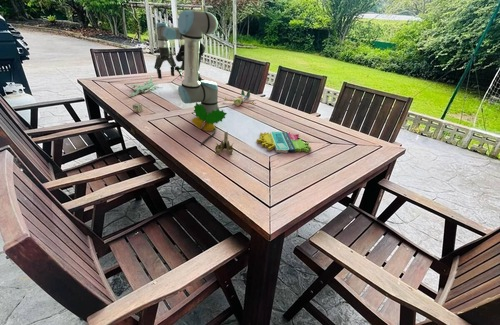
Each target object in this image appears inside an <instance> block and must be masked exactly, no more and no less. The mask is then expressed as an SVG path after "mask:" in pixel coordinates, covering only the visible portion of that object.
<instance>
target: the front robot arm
mask: <svg viewBox="0 0 500 325" xmlns="http://www.w3.org/2000/svg"><path fill="white" fill-rule="evenodd" d="M218 26H219V22H218V20H217V17H216V16H215V15H214V13H211V12H210V11H204V10H203V11H202V10H200V11H199V10H192V9H189V10H188V9H187V10H185V9H184V10H181V12H180V13H179V15H178V19H177V27H176V26H175V27H173V26H168V23H166V22H157V23H156V28H155V29H156V36H157V46H158V53H159V54H156V59H155V61H154V62H155V63H154V66H153V68H154V69H155V70H156V74H157V79H159V80H162V79H163V77H162V69H161V67H162V65H163V63H165V61H167V63H168V65H170V77H171V76H172V77H175V67H176V66H177V63H176V61H175V59H174V57H173V53H170V51H171V50H170V41H173V40H184V44H185V57H184V70H183V71H184V72H183V75H184V76H183V79H182V80H181V84H180V85H178V87H177V92H178V96H179V98H180V100H181V102H182V103H184V104H196V102H197V103H200V104H201V106H204V109H206V112H208V113H211V112H212V110H214V111H216V110H217V109H219V111H221V110H220V108H219V102H218V99H219V98H218V97H219V87H218V84H217V83H216V82H214V81H211V80H201V81H200V82H199V81H198V68H199V69H200V67H199V45H200V43H201V41H202V40H203V35H211V34H214V33H215V32H217V30H218ZM208 113H207V115H208ZM216 130H217V129H216V127H215V128H214V130H213V131H212V134H210V135H209V136H208V137H207V138H205V139H204V140H203V141H202V142H201V143H200V145H201V146H202V145H204V144H205V143H206V142H207V141H208V140H209V139H210V138H212V137H214V135H215V134H216Z"/></svg>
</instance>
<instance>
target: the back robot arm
mask: <svg viewBox="0 0 500 325" xmlns="http://www.w3.org/2000/svg"><path fill="white" fill-rule="evenodd" d="M205 50H206V46H205V45H204V44H203V43H201V42H200V45H199V68H198V81H199V82H200V81H202V76H201V73H200V66H201V61H202V56H203V55H204V53H205ZM184 57H185V43H184V44H180V47H179V49H178V52H177V54H176V55H175V60H176V62H178V63H181V65H176V66H175V67H174V71H176V72H177V73H178V75H179V77H180V79H183V73H182V72H183V71H184Z"/></svg>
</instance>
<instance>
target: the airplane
mask: <svg viewBox="0 0 500 325" xmlns="http://www.w3.org/2000/svg"><path fill="white" fill-rule="evenodd" d="M153 78H154V75H153V74H151V76H150V78H149V80H148V81H147V82H146V81H144V82H143V85H142V84H134V83H129V84H128V85H130V86H132V87H131V89H133V91H132V92H131V93H130V94H129V95H128V96H127V98H129V97H130V98H131V97H135V96H137V95H139V94H141V93H148V92H150V91H151V90H152V92H154V91H156V90H157V89H163V88H164V87H162V86H157V85H158V83H154V82H153ZM155 85H156V86H155Z"/></svg>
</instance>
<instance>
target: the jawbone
mask: <svg viewBox="0 0 500 325" xmlns="http://www.w3.org/2000/svg"><path fill="white" fill-rule="evenodd" d="M223 135H224V136H223V140H222V139H221V142H220V144H218V142H215V144H216V146H215V148H214V149H215V152H214V154H215V155H217V156H218V155H220V153H221V152H223V151H224V150H226V152H227V153H228V155H229V156H233V155H234V154H233V153H234V148H233V144H234V143H230V140H228V139H229V138H228V137H229V136H228V135H229V133H228V131H226V132H224V134H223Z"/></svg>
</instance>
